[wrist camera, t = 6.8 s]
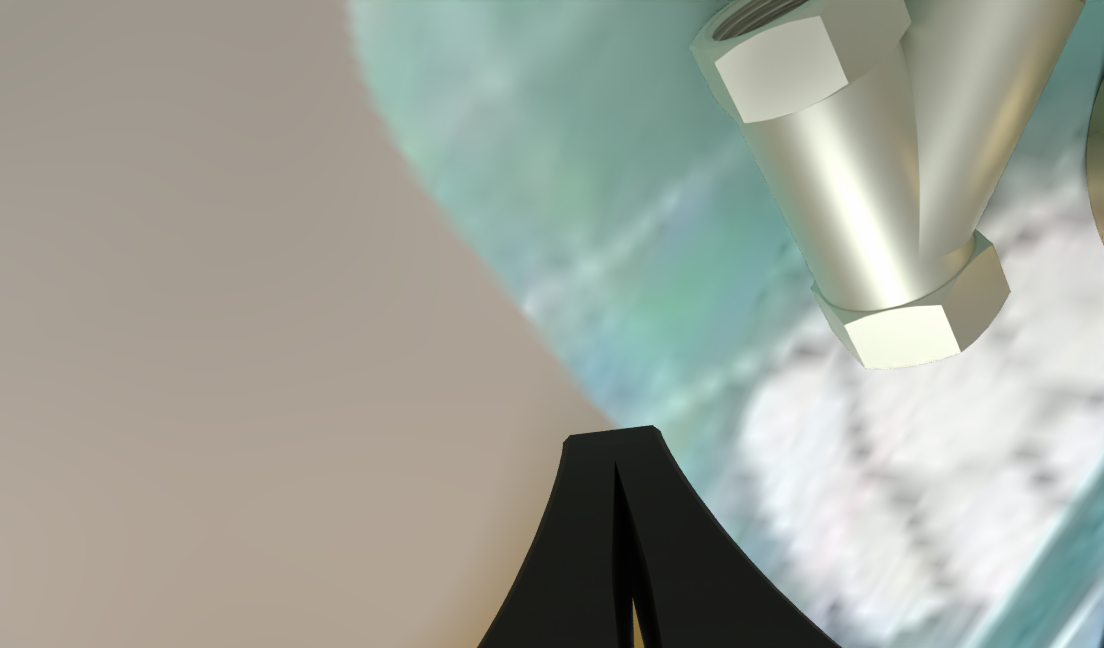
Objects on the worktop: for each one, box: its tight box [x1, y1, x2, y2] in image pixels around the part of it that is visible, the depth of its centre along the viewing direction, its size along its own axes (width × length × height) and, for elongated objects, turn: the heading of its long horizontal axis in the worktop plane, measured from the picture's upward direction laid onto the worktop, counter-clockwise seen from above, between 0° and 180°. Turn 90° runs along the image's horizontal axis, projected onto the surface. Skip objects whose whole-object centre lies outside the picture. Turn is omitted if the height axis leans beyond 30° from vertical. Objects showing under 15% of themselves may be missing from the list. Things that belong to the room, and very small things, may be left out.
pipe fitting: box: [689, 0, 1087, 369], centre depth 16 cm, size 8×4×7 cm
